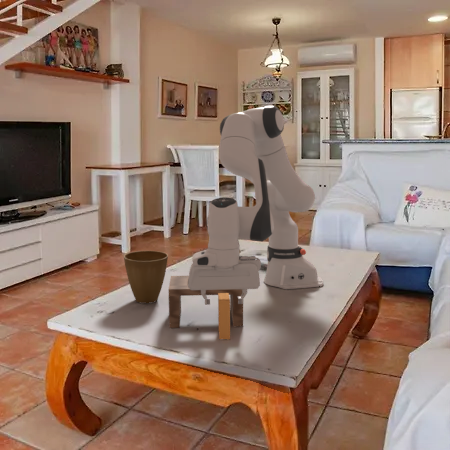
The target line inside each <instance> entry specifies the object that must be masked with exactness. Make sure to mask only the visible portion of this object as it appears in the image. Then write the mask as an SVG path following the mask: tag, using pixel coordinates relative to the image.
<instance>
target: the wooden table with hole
mask: <svg viewBox="0 0 450 450" xmlns="http://www.w3.org/2000/svg"><path fill="white" fill-rule="evenodd" d="M188 279H189V275H170V279H169V284H168V285H169V286H168V322H169V325H168V326H169V329H180V327H181V319H182V318H181V316H182V299H181V298H182V296H183V297H184V296H202V295H201V290H190V289H189V287H188ZM218 293H229V298H230V318H231V320H232V321H231V322H232V327H235V328H237V327H244V303H243V304H238V297H239V296H241V295H242V293H243V292H242V289H230V290H206V293H205V294H206V296H218Z"/></svg>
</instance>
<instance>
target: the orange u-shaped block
mask: <svg viewBox="0 0 450 450" xmlns="http://www.w3.org/2000/svg"><path fill="white" fill-rule="evenodd" d="M217 297H218V298H217V302H218V304H217V305H218V307H217V309H218V314H217V316H218V317H217V318H218V321H217V322H218V335H219V336H218V339H227V340H231V312H230V295H229V293H218V295H217Z"/></svg>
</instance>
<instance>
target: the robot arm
mask: <svg viewBox="0 0 450 450" xmlns="http://www.w3.org/2000/svg"><path fill="white" fill-rule="evenodd" d="M284 120H285V119H284V116H283V113H282V110H280V109H279V108H278V107H277V106H275V105H266V106H264V107H256V108H255V107H254V108H249V109H247V110H243V111H239V112H235V113H231V114H229V115H226V116H225V117H224V118H222V120H221V122H220V124H219V134H220V140H219V147H218V148H219V149H218V157H219V162H220V164H221V165H222V167H223V168H224V169H226V170H227V171H228V172H230V173H231V174H233V175H235V176H239V177H242V178H244V179H246V180H248V181H250V182H251V183H252V184H253V187H254V197H255V205H253V206H238V202H237V200H236V199H234V198H232V197H226V196H225V197H224V196H223V197H218V198H214V199H213V200H211V201H210V203H209V208H208V216H207V222H206V225H207V227H206V228H207V230H206V231H207V234H208V237H209V239H208V242H207V243H208V244H207V249H204V250H201V251H198V252H196V253H193V255H192V257H191V260H192V261H191V262H192V263H191V264H190V267H189V271H188V272H189V273H188V276H189V279H188V287H189V289H190V290H201V295H200V296H202V297H203V299H204V305H207V306H208V305H209V306H210V305H211V297H210V296H208V295H206V294H205V293H206V290H230V289H242V292H243V293H242V295H241V296H239V297H238V304H243V305H244V299H245V298H246V296H247V294H248V290H258V289H259V287H260V286H261V282H260V281H261V279H260V278H261V277H260V270H261V268H262V263H261V259H259V257H256V256H255V255H250V256H248V255H244V256H243V255H241V253H240V251H241V249H240V241H239V240H245V241H246V240H248V241H254V242H265V241H266V240H267V239H268V245H267V250H266V259H267V266H266V272H265V276H264V280H263V282H264V284H265V285H267V286H271V287H276V288H281V289H284V290H293V289H294V290H295V289H306V288H319V286H320V287H322V286H323V285H324V280H323V278H322V277H320V276H319V275H318V271H317V267H316V266H315V264H314V263H312V262H311V261H310V260H308V259H307V258H306V257H305V255H306V253H307V250H305V249H304V248H303V247H301V246H300V245H299V227H298V225H297V223H296V221H294V220H293V218H292V217H291V214H290V212H291V213H304V212H308V211H309V210H311V209H312V207H313V205H314V203H315V201H316V199H315V198H316V196H315V191H314V189H313V188H312V186H310V185H308V184H307V183H306V182H305V181H304V180H303V179H302V178H301V177H300V176H299V174H298V173H297V172H296V170H295V168H294V167H293V165H292V164H291V163H292V162H290V159H289V156H288V152H287V150H286V147H285V143H284V140H283V138H282V135H281V134H282V133H283V131H284V127H285V121H284Z"/></svg>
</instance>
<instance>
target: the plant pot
mask: <svg viewBox="0 0 450 450" xmlns="http://www.w3.org/2000/svg"><path fill="white" fill-rule="evenodd" d="M168 259H169V254H168V253H166V252H163V251H158V250H136V251H131V252H127V253H125V254H124V255H123V261H124V266H125V267H124V268H125V272H126V276H127V280H128V284H129V286H130V289H131V292H132V295H133V297H134V299H135V301H136V302H137V303H140V304H152V303H153V304H154V303H155V302H157V301H158V299H159V296H160V293H161V291H162V287H163V285H164V284H163V283H164V281H165V276H166V271H167V265H168Z"/></svg>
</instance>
